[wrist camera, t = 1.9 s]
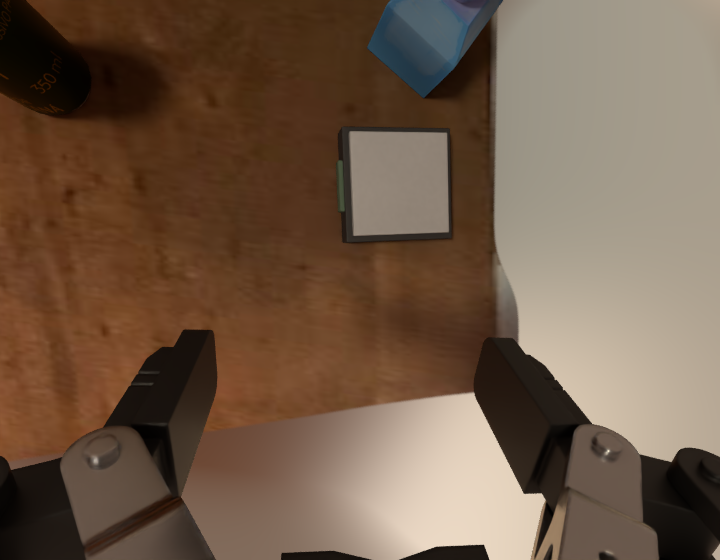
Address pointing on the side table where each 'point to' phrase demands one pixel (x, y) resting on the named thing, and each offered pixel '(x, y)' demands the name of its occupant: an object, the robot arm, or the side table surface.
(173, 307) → the side table surface
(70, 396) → the side table surface
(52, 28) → the beer can
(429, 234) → the kitchen scale
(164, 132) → the side table surface
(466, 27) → the perfume bottle
